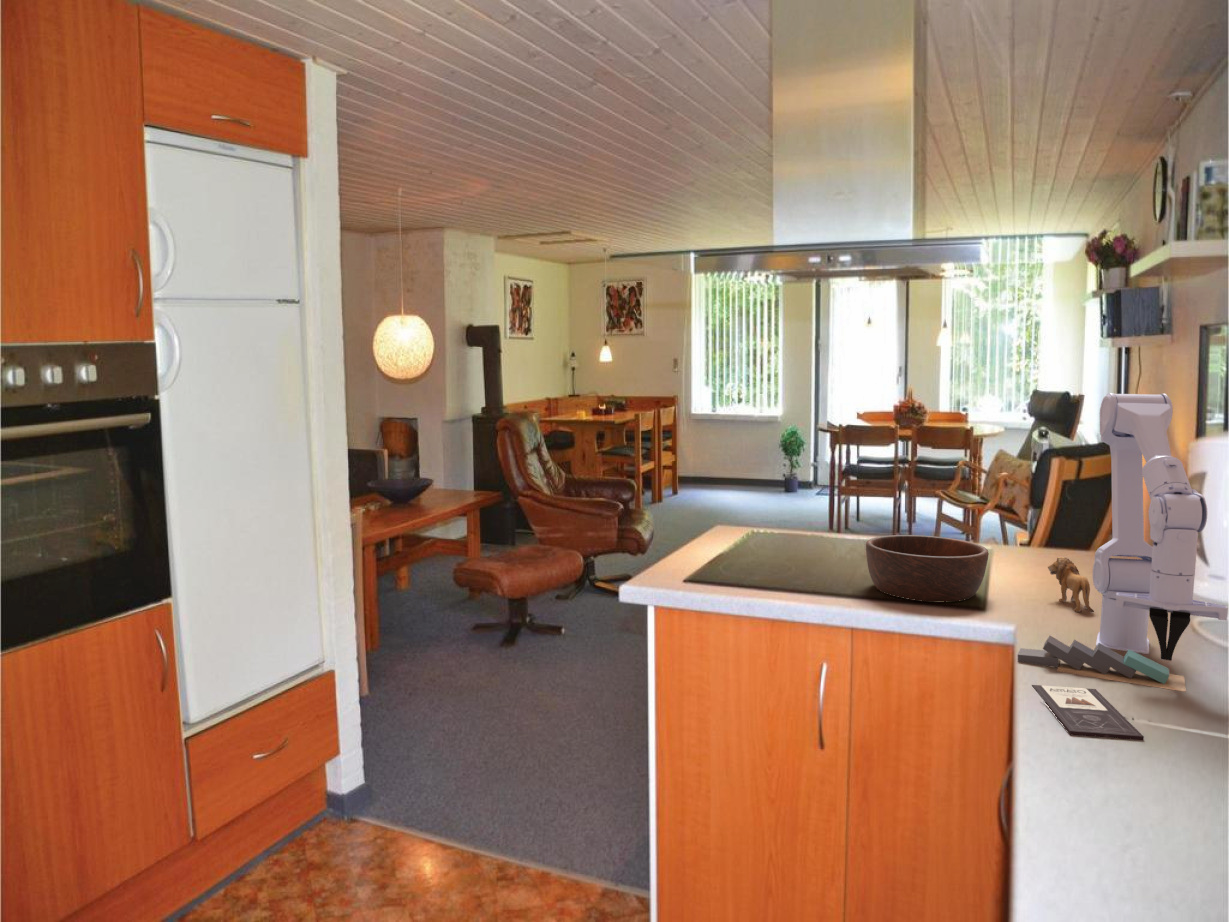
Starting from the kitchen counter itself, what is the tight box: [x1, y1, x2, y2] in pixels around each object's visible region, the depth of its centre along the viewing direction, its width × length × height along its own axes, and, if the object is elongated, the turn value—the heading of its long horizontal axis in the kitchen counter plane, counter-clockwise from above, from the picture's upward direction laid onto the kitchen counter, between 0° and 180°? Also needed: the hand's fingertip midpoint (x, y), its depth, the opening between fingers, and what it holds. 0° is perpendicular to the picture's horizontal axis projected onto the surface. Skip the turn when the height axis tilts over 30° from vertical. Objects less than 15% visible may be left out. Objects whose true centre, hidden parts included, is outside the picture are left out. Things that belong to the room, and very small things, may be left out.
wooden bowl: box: [865, 534, 990, 603], centre depth 197 cm, size 25×25×10 cm
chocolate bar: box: [1031, 684, 1145, 741], centre depth 129 cm, size 9×1×18 cm
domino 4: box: [1093, 643, 1136, 679], centre depth 144 cm, size 2×4×6 cm
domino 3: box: [1068, 639, 1110, 675], centre depth 146 cm, size 2×4×6 cm
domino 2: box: [1042, 635, 1084, 671], centre depth 148 cm, size 2×4×6 cm
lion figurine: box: [1047, 556, 1095, 613], centre depth 187 cm, size 15×5×9 cm, turn 2°
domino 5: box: [1123, 649, 1170, 684], centre depth 142 cm, size 2×4×6 cm
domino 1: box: [1017, 647, 1060, 668], centre depth 150 cm, size 2×4×6 cm
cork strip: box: [1056, 660, 1187, 693], centre depth 144 cm, size 8×17×1 cm, turn 60°
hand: (1166, 658), depth 141 cm, fingers closed
